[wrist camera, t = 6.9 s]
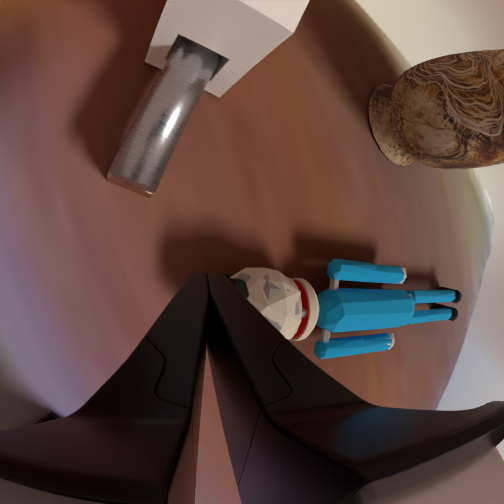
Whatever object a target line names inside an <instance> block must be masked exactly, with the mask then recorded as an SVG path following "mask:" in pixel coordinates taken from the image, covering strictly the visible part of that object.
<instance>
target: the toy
mask: <svg viewBox="0 0 504 504" xmlns="http://www.w3.org/2000/svg"><path fill="white" fill-rule="evenodd" d="M406 272H407V271H405V267H404V268H402V267H398V266H387V265H374V264H372V263H367V262H358V261H350V260H342V259H333V260H332V261H331V262H330V263H328V267H327V275H328V276H329V278H330V285H329V288H327V289H325V290H324V291H322V292H321V293H319V294H318V295H316V293H315V291H314V289H313V287H312V286H311V285H310V284H309V283H308V282H307V281H306V280H304V279H300V278H291V279H290V278H288V277H286V276H285V275H283V274H282V273H280V272H279V271H277V270H273V269H269V268H244V269H243V270H241V271H239V272H238V273H236V274H234V275H233V276H230V275H228V274H223V275H224V276H225V277H226V278H227V279H228V280H229V281H230V282H231V283H232V284H233V285H234V286H235V287H236V288H237V289H238V290H239V291H240V292H241V293H242V294H243V295H244V296H245V297H246V298H247V299H248V300H249V301H250V302H251V303H252V304H253V305H254V306H255V307H256V308H257V309H258V310H259V312H260V313H261V314H262V315H263V316H264V317H265V318H266V319H267V320H268V321H269V322H270V323H271V324H272V325H273V326H274V327H276V328H277V329H278V330H279V331H280V332H281V333H282V334H283V335H284V336H285V338H287V339H288V340H290V341H298V340H303V339H305V338H306V337H307V336H308V335H309V334H310V333H311V332H312V330H313V329H314V327H315V325H317V326H319V327H320V328H321V329H322V330H321V335H320V340H319V341H317V342H316V343H315V348H314V354H315V355H316V356H317V357H318V358H319V359H325V358H333V357H341V356H348V355H355V354H362V353H369V352H376V351H383V350H388V349H390V348H391V347H392V346H393V345H394V339H395V338H394V335H393V333H391V334H386V333H382V334H373V335H364V336H352V337H343V338H332V339H329V338H330V332H346V331H359V330H371V329H382V328H392V327H399V326H402V325H406V324H415V323H422V322H429V321H438V320H446V319H448V320H452V321H453V320H455V319H456V318H457V316H458V311H457V309H456V308H452V307H448V306H445V305H441V304H437V305H435V306H434V307H433V309H430V310H420V311H414V309H415V303H437V302H453V303H458V302H459V301H460V300H461V296H462V295H461V293H460V292H459V291H458V290H454V289H449V288H445V287H439V288H438V289H437V290H410V291H408V292H406V291H404V290H387V289H355V288H338V285H339V280H347V281H360V282H377V283H394V284H399V283H400V284H402V283H403V282H404V281H405V278H406V277H407V275H406Z"/></svg>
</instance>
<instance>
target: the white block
mask: <svg viewBox="0 0 504 504" xmlns="http://www.w3.org/2000/svg"><path fill="white" fill-rule="evenodd" d="M309 1H310V0H167V2H166V4H165V7H164V9H163V12H162V14H161V17H160V19H159V22H158V25H157V27H156V30H155V33H154V35H153V38H152V41H151V44H150V47H149V50H148V53H147V56H146V59H145V62H146V63H148V64H150V65H153V66H155V67H157V68H159V69H163V68H164V66H165V64H166V63H167V61H168V60H169V58H170V56H171V55H172V53H173V52H174V50H175V49H176V47H177V46H178V44H179V43H180V41H181V40H182V38H183V37H186V38H188V39H190V40H192V41H194V42H196V43H198V44H200V45H202V46H204V47H206V48H208V49H210V50H212V51H214V52H216V53H218V54H220V55H222V58H221V59H220V61H219V63H218V65H217V67H216V68H215V70H214V72H213V74H212V76H211V77H210V79H209V81H208V83H207V85H206V87H205V89H204V90H206V91H207V92H209V93H211V94H213V95H215V96H217V97H219V98H220V97H221V96H222V95H223V94H224V93H225V92H226V91H227V90H228V89H229V88H230V87H231V86H232V85H233V84H235V83H236V82H237V81H238V80H239V79H240V78H241V77H242V76H243V75H244V74H246V73H247V72H248V71H249V70H250V69H251V68H252V67H254V66H255V65H256V64H257V63H258V62H259V61H260V60H262V59H263V58H264V57H265V56H266V55H267V54H269V53H270V52H271V51H272V50H273V49H275V48H276V47H277V46H278V45H279V44H281V43H282V42H283V41H284V40H286V39H287V38H288V37H289V36H291V35H292V34H293V33H294V31H295V29H296V27H297V25H298V23H299V21H300V19H301V17H302V15H303V13H304V11H305V9H306V7H307V5H308V3H309Z"/></svg>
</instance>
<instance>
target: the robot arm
mask: <svg viewBox="0 0 504 504" xmlns="http://www.w3.org/2000/svg"><path fill="white" fill-rule="evenodd" d="M206 346H207V350H208V357H209V362H210V367H211V372H212V377H213V382H214V387H215V392H216V397H217V402H218V406H219V411H220V416H221V420H222V425H223V429H224V433H225V438H226V442H227V446H228V451H229V455H230V459H231V463H232V467H233V471H234V475H235V479H236V483H237V487H238V491H239V495H240V499H241V502H242V504H504V461H503V459H502V457H501V455H500V454H499V452H498V450H497V448H496V446H497V445H498V444H499V443H500V442H501V441H502V440H503V439H504V401H492V402H490V403H487V404H485V405H483V406H480V407H478V408H475V409H470V410H460V411H436V410H416V409H401V408H389V407H381V406H377V405H373V404H371V403H368V402H366V401H365V400H363V399H361V398H360V397H358V396H357V395H355V394H354V393H352V392H351V391H350V390H348V389H347V388H346V387H344V386H343V385H342V384H340V383H339V382H338V381H336V380H335V379H334V378H332V377H331V376H330V375H328V374H327V373H326V372H324V371H323V370H322V369H321V368H319V367H318V366H317V365H316V364H314V363H313V362H312V361H311V360H309V359H308V358H307V357H306V356H305V355H304V354H303V353H301V352H300V351H299V350H298V349H297V348H296V347H295V346H294V345H293V344H292V343H291V342H290V341H289V340H288V339H287V338H285V336H284V335H283V334H282V333H281V332H280V331H279V330H278V329H277V328H276V327H274V326H273V325H272V324H271V323H270V322H269V321H268V320H267V319H266V318H265V317H264V316H263V315H262V314H261V313H260V312H259V310H258V309H257V308H256V307H255V306H254V305H253V304H252V303H251V302H250V301H249V300H248V299H247V298H246V297H245V296H244V295H243V294H242V293H241V292H240V291H239V290H238V289H237V288H236V287H235V286H234V285H233V284H232V283H231V282H230V281H229V280H228V279H227V278H226V277H225V276H224V275H223V274H222V273H208V274H206V273H204V272H192V273H191V274H190V276H189V277H188V278H187V280H186V281H185V282H184V283H183V285H182V286H181V287H180V289H179V290H178V291H177V293H176V294H175V295H174V297H173V298H172V300H171V301H170V302H169V304H168V305H167V306H166V308H165V309H164V310H163V312H162V313H161V314H160V316H159V317H158V318H157V320H156V321H155V323H154V324H153V325H152V327H151V328H150V329H149V331H148V332H147V333H146V335H145V336H144V338H143V339H142V340H141V342H140V343H139V344H138V346H137V347H136V348H135V350H134V351H133V352H132V353H131V355H130V356H129V357H128V359H127V360H126V361H125V362H124V363H123V364H122V365H121V366H120V367H119V369H118V370H117V371H116V372H115V373H114V374H113V375H112V376H111V377H110V378H109V379H108V380H107V381H106V382H105V383H104V384H103V385H102V386H101V387H100V388H99V390H98V391H97V392H96V393H95V394H94V395H93V396H92V397H91V398H90V399H89V400H88V401H87V402H86V403H85V404H84V405H83V406H82V407H81V408H79V409H78V410H77V411H75V412H74V413H72V414H71V415H69V416H66V417H64V418H59V417H58V416H57V415H56V414H53V413H50V414H48V415H46V416H45V417H43V418H42V419H41V420H39V421H38V422H36V423H35V424H33V425H30V426H25V427H20V428H15V429H10V430H5V431H0V504H195V486H196V470H197V455H198V442H199V428H200V416H201V404H202V392H203V381H204V371H205V360H206ZM50 419H54V420H52V421H51V420H50Z"/></svg>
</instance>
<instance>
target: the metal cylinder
mask: <svg viewBox="0 0 504 504" xmlns="http://www.w3.org/2000/svg"><path fill="white" fill-rule="evenodd" d="M221 58H222V55H220V54H218V53H216V52H214V51H212V50H210V49H208V48H206V47H204V46H202V45H200V44H198V43H196V42H194V41H192V40H190V39H188V38H186V37H183V38H182V40H181V41H180V43H179V44H178V46H177V47H176V49H175V50H174V52H173V53H172V55H171V56H170V58H169V60H168V61H167V63H166V64H165V66H164V68H163V69H162V71H161V73H160V74H159V76H158V78H157V79H156V81H155V83H154V85H153V86H152V88H151V90H150V92H149V93H148V95H147V97H146V99H145V100H144V102H143V104H142V106H141V108H140V110H139V111H138V113H137V115H136V117H135V119H134V121H133V123H132V125H131V127H130V129H129V131H128V133H127V135H126V137H125V139H124V141H123V143H122V145H121V147H120V149H119V151H118V153H117V155H116V157H115V159H114V161H113V163H112V166H111V168H110V170H109V172H108V175H107V181H109V182H112V183H114V184H116V185H119V186H121V187H124V188H126V189H128V190H131V191H133V192H136V193H138V194H140V195H143V196H145V197H148V198H150V197H151V196H153V195H154V193H155V192H156V190H157V188H158V185H159V183H160V181H161V178H162V176H163V174H164V172H165V169H166V167H167V165H168V162H169V160H170V158H171V156H172V154H173V151H174V149H175V147H176V145H177V143H178V141H179V139H180V136H181V134H182V132H183V130H184V128H185V126H186V124H187V122H188V120H189V118H190V116H191V114H192V112H193V110H194V108H195V106H196V104H197V102H198V100H199V98H200V96H201V94H202V92H203V91H204V89H205V87H206V85H207V83H208V81H209V79H210V77H211V76H212V74H213V72H214V70H215V68H216V67H217V65H218V63H219V61H220V59H221Z"/></svg>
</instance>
